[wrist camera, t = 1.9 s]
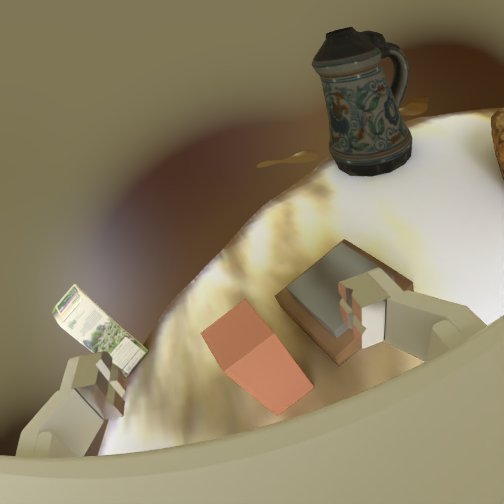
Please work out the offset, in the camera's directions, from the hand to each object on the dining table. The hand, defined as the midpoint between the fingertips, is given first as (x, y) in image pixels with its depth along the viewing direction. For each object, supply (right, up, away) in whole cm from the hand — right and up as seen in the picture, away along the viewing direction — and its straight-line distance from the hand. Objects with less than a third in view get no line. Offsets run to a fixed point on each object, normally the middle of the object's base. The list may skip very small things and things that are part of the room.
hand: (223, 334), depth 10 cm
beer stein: (+26, +22, +48) cm, 59 cm away
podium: (+12, -3, +28) cm, 30 cm away
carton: (+4, -12, +23) cm, 26 cm away
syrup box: (-18, -14, +36) cm, 43 cm away
